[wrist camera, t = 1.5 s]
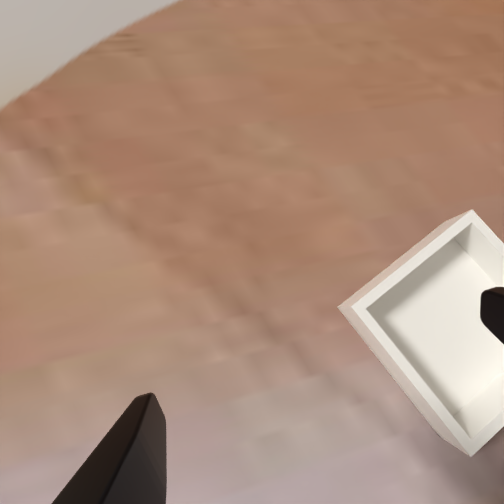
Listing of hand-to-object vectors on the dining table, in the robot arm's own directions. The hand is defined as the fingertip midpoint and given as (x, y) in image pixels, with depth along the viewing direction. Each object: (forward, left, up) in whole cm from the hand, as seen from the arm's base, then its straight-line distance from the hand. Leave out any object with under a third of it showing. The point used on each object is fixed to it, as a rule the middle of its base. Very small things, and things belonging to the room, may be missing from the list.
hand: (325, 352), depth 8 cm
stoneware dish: (-8, -10, -16) cm, 20 cm away
